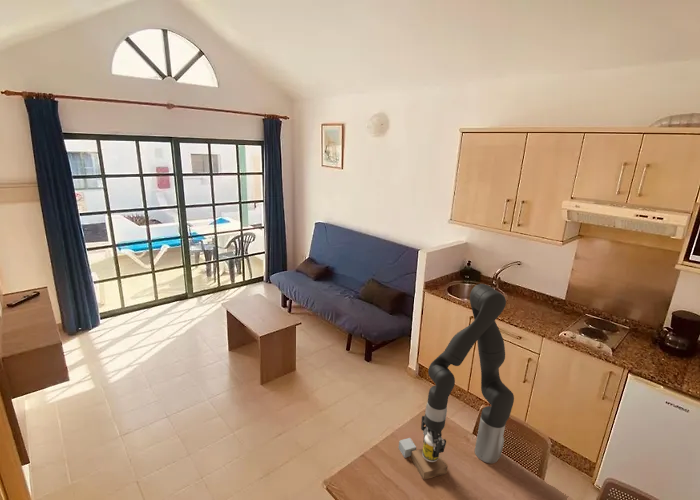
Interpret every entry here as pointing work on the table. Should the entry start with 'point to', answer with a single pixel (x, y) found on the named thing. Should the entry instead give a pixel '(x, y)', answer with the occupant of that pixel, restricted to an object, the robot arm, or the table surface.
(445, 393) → the robot arm
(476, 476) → the table surface
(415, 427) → the table surface
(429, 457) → the pill bottle
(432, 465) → the walnut block
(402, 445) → the slate block
